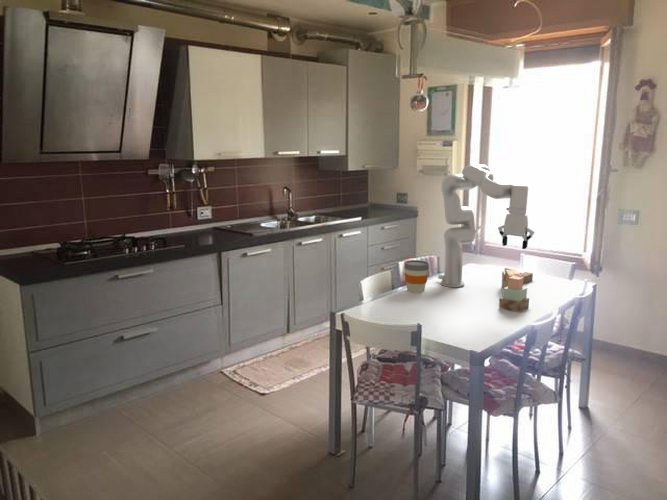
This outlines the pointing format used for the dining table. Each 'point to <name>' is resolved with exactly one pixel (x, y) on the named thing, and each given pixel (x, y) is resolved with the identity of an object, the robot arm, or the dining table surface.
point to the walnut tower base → (514, 304)
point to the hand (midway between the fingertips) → (514, 247)
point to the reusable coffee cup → (416, 275)
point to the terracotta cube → (515, 282)
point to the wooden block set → (525, 276)
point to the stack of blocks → (507, 274)
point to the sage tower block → (514, 294)
